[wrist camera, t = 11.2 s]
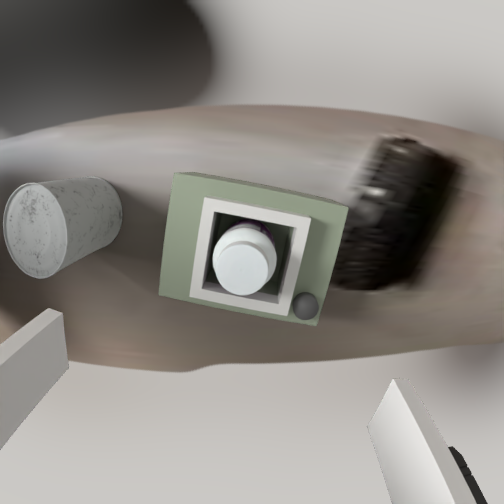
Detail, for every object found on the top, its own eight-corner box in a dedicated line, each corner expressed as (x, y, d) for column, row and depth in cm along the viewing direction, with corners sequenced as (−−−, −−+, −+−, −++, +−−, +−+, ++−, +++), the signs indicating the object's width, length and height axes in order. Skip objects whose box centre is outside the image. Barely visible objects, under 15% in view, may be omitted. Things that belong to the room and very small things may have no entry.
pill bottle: (276, 265, 33) (281, 302, 24) (226, 270, 33) (212, 307, 24) (271, 214, 32) (274, 232, 22) (219, 219, 32) (201, 239, 23)
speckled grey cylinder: (135, 203, 36) (82, 220, 24) (101, 263, 38) (48, 297, 26) (83, 162, 35) (21, 164, 23) (54, 221, 37) (-6, 241, 25)
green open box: (178, 270, 38) (151, 302, 28) (193, 172, 35) (167, 173, 25) (306, 295, 38) (319, 336, 28) (330, 199, 35) (354, 210, 25)
